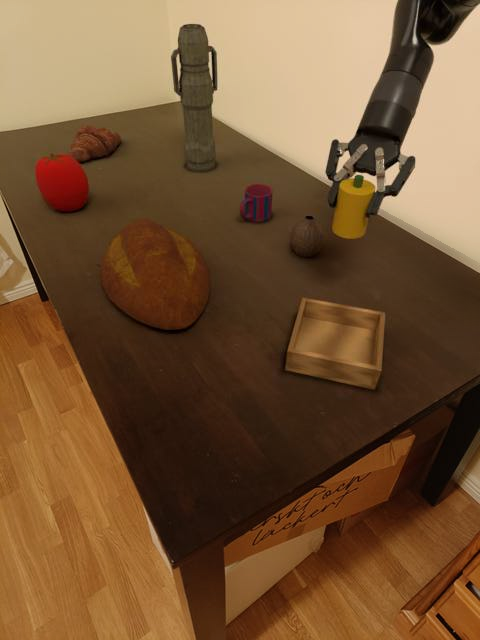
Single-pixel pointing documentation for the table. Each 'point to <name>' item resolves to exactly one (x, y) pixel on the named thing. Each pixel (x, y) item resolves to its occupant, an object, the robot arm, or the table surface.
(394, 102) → the robot arm
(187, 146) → the grey stone totem
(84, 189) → the red rounded lump
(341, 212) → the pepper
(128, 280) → the bread
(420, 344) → the table surface
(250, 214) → the mug
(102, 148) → the pastry
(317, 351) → the tray
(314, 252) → the vase
